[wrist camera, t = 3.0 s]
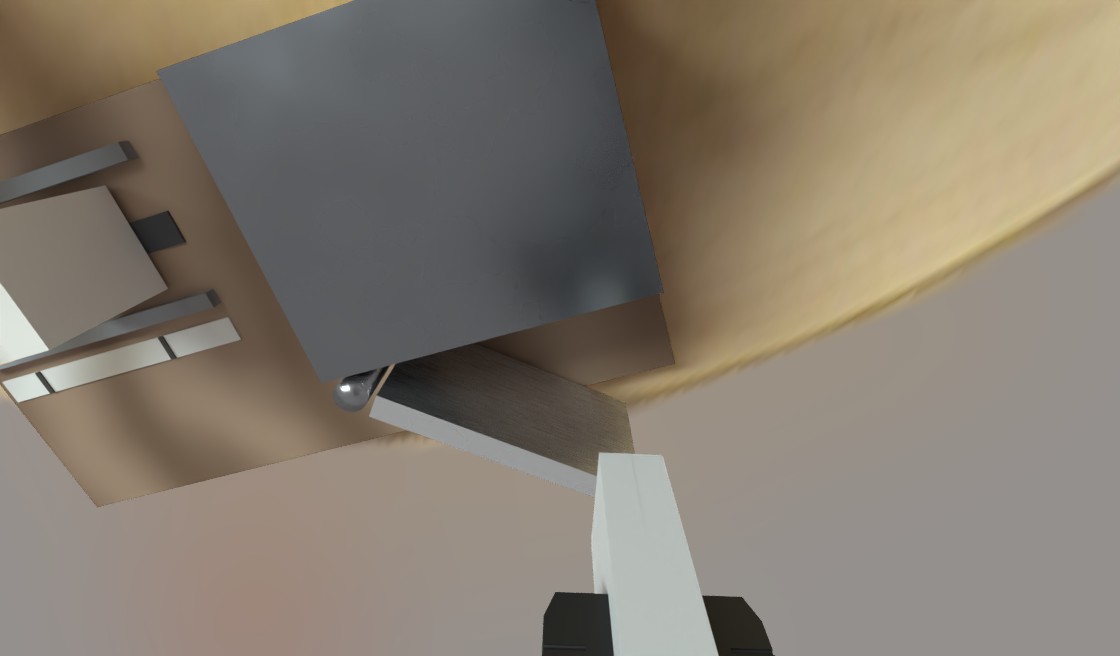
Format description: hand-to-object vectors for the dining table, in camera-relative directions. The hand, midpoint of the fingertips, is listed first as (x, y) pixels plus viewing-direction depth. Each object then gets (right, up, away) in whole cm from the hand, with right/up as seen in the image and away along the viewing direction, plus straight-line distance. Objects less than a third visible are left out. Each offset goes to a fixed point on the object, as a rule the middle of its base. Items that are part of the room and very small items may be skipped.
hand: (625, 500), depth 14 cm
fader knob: (-18, +7, +7) cm, 21 cm away
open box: (-5, +10, +6) cm, 12 cm away
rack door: (-4, +2, +9) cm, 10 cm away
